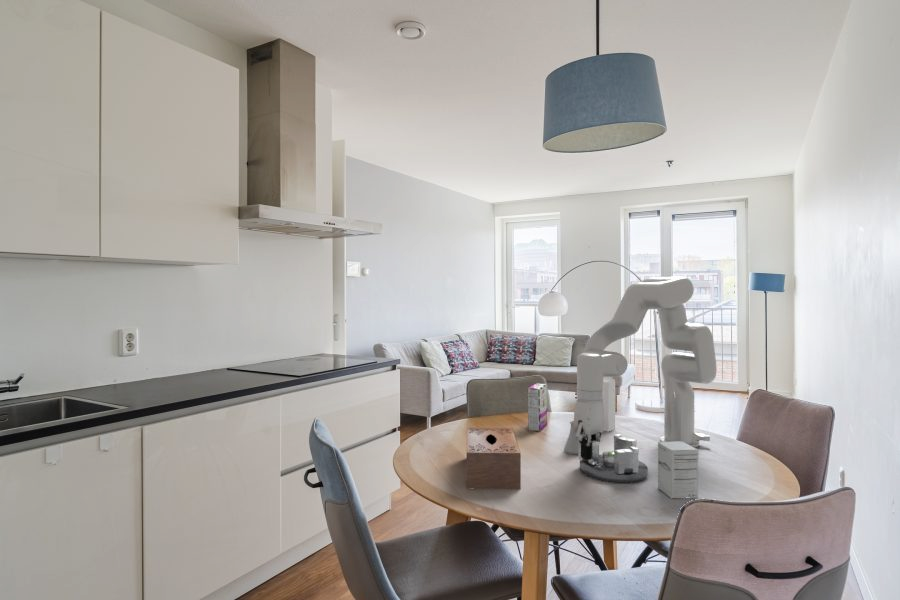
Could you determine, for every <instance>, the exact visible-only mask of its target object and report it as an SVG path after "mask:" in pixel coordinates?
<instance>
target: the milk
mask: <svg viewBox="0 0 900 600" xmlns="http://www.w3.org/2000/svg"><path fill="white" fill-rule="evenodd" d="M603 406H604V431H603V432H605V431H607V433H610V432H611V430H612V431H615V430H616V379H614V377H603ZM609 431H610V432H609Z"/></svg>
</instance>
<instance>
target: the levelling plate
mask: <svg viewBox="0 0 900 600" xmlns="http://www.w3.org/2000/svg"><path fill="white" fill-rule="evenodd" d="M579 472H580V473H581V474H582V475H584V476H586V477H588V478H590V479H593V480H596V481H600V482H605V483H611V484H620V485H621V484H635V483H636V484H637V483H640V482H643V481H645V480H646V479H648V476H649V473H648V472H649V468H648V466H647V465H646V463H644V462H642V461H640V460H638V473H632V474H618V473H616V472H615V471H614V450H613V451H612V450H610V451H604V452H602V454H599V464H595V465H591V464H589V463H584V462H582V460H579Z"/></svg>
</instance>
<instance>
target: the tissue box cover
mask: <svg viewBox="0 0 900 600" xmlns="http://www.w3.org/2000/svg"><path fill="white" fill-rule="evenodd" d="M521 459H522V454H521V450H520V447H519V444H518V440H517V438H516V435H515V433H514V429H513V427H466V489H467V488H474V489H473V490H521V489H522V487H521V484H522V482H521V481H522V480H521V479H522V476H521V475H522V474H521V473H522V471H521V469H522V468H521V466H522V465H521V464H522V463H521Z"/></svg>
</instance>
